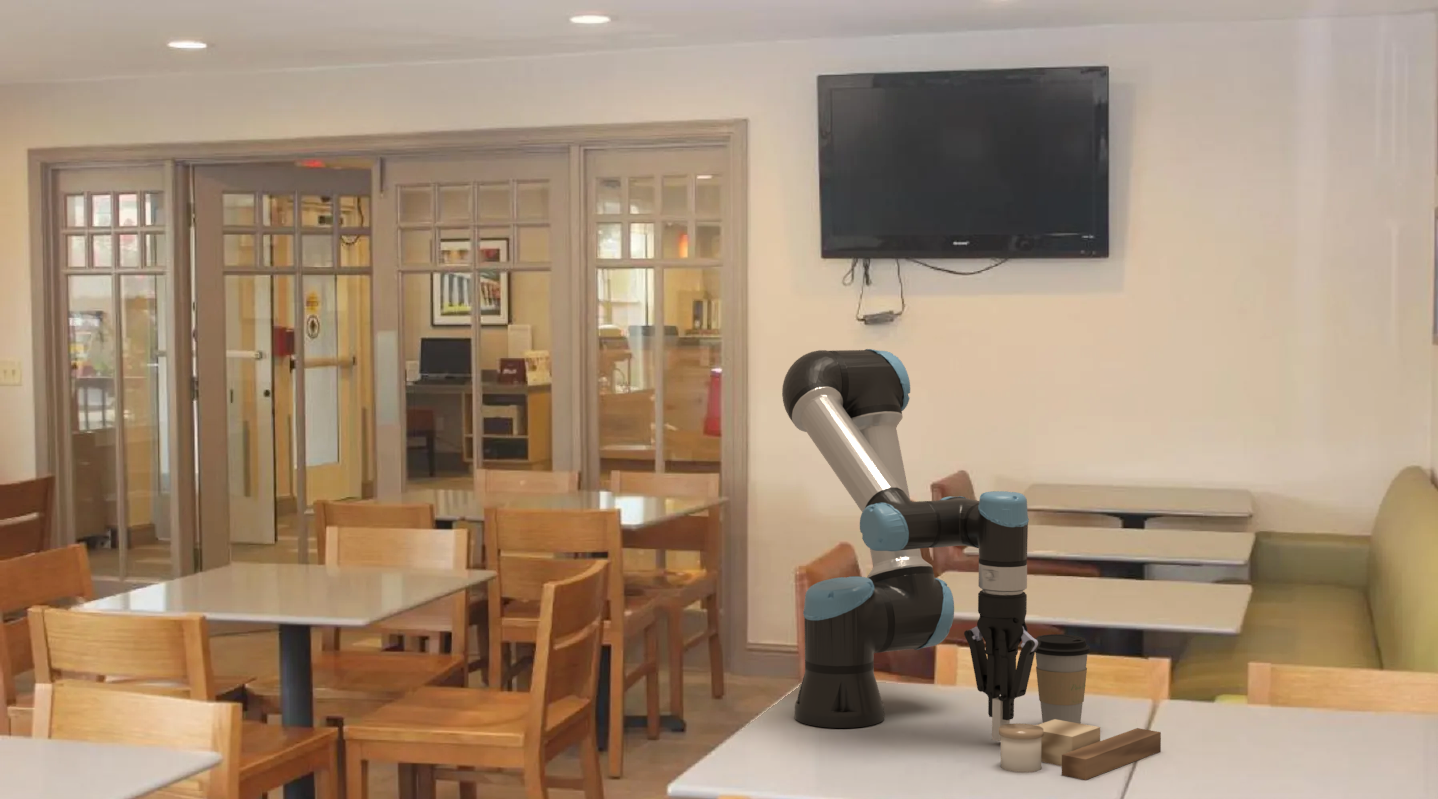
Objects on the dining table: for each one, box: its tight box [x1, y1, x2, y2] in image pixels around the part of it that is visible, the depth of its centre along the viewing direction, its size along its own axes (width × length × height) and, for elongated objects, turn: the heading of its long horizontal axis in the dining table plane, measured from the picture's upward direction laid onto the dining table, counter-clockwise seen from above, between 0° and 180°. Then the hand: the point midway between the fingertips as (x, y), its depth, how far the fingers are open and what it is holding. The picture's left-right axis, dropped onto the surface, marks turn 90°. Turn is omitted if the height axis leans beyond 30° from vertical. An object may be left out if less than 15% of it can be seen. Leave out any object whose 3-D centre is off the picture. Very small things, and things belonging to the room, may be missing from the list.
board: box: [1061, 727, 1162, 781], centre depth 243 cm, size 4×22×3 cm, turn 136°
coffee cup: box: [1035, 633, 1091, 724], centre depth 264 cm, size 9×9×15 cm
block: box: [1035, 719, 1101, 767], centre depth 246 cm, size 8×8×5 cm
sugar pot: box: [999, 722, 1044, 773], centre depth 242 cm, size 7×7×6 cm
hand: (1000, 738), depth 255 cm, fingers closed
